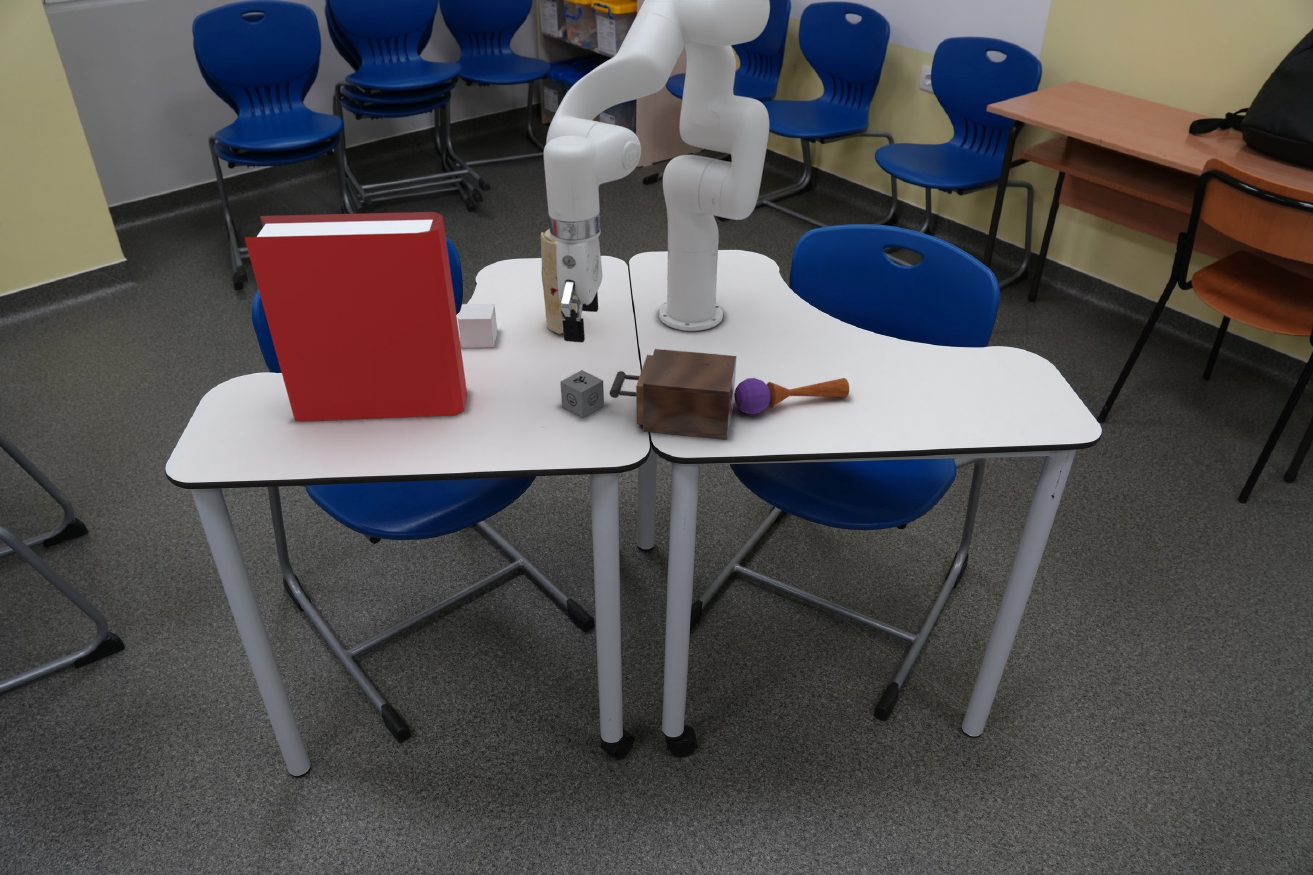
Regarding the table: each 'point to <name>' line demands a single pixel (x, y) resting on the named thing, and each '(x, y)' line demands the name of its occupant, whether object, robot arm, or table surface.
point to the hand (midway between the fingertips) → (581, 325)
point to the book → (361, 314)
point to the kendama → (782, 393)
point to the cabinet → (689, 394)
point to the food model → (551, 283)
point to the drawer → (638, 394)
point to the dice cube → (582, 393)
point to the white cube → (477, 325)
